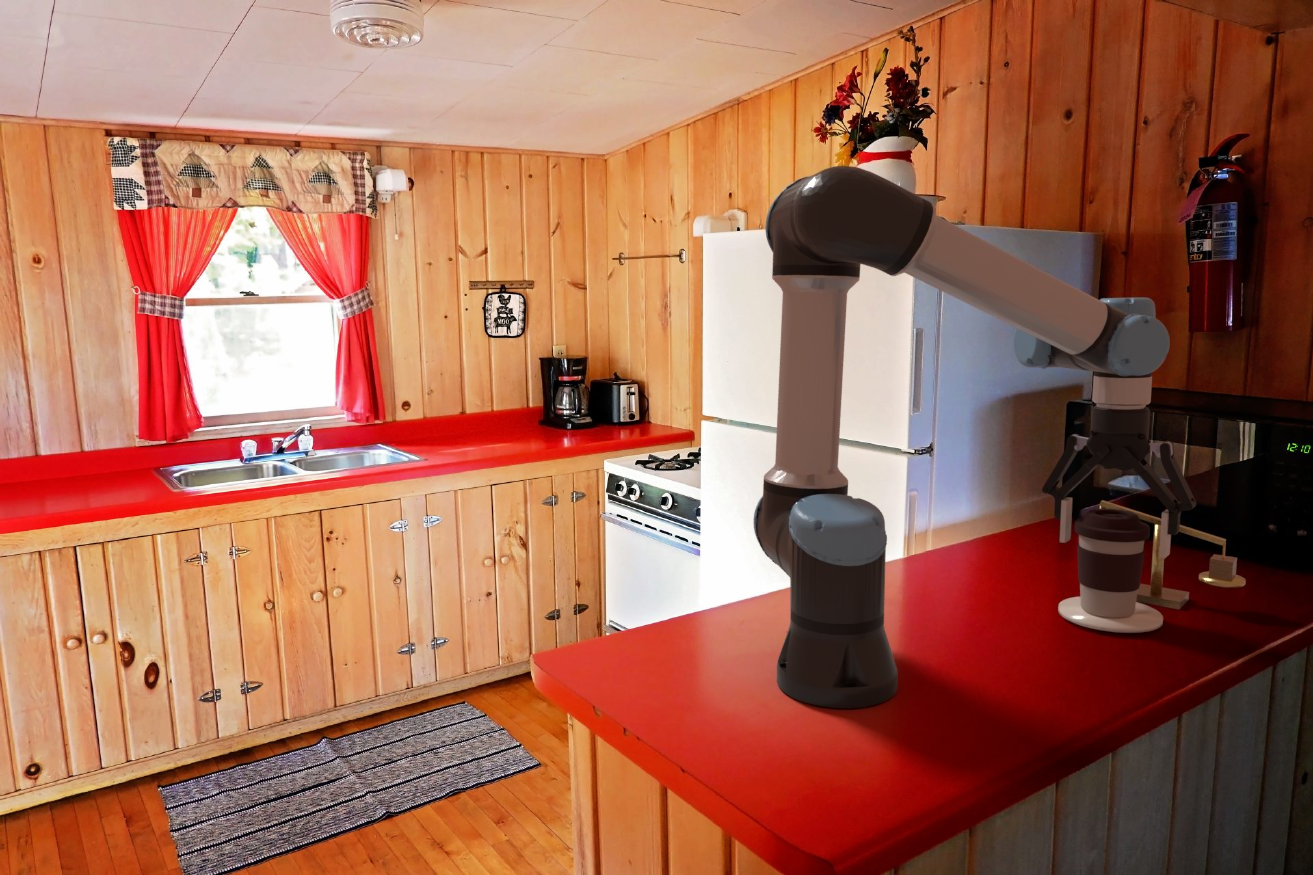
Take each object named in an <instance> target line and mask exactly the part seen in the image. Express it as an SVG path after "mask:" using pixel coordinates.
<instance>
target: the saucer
mask: <svg viewBox="0 0 1313 875" xmlns="http://www.w3.org/2000/svg"><path fill="white" fill-rule="evenodd" d="M1057 608H1058V609H1057V610H1058V613H1059V615H1060V616H1061V617H1062V618H1064V619H1065V620H1067V621H1069V622H1071V623H1073V624H1075V625H1079V626H1082V627H1085V628H1089V629H1093V630H1098V631H1105V632H1111V633H1121V634H1122V633H1123V634H1124V633H1125V634H1126V633H1127V634H1137V633H1145V632H1146V633H1148V632H1152V631H1155V630H1158V629H1161V627H1162V626H1163V623H1164V622H1163V621H1164V616H1163V615H1162V613H1161V612H1160V611H1158V610H1157V609H1155V608H1153V607H1151V606H1149V605H1146V604H1145V603H1141V602H1136V605H1135V612H1134V614H1133V615H1131V616H1129V617H1125V618H1107V617H1101V616H1096V615H1093V614H1090V613H1088V612H1086V611H1084V610H1083V609H1082V607H1081V602H1080V596H1074V597H1069V598H1066V599H1063V600H1062V601H1061V600H1060V602H1059V603H1058V607H1057Z"/></svg>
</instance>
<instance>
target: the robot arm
mask: <svg viewBox="0 0 1313 875" xmlns="http://www.w3.org/2000/svg"><path fill="white" fill-rule="evenodd" d="M765 236H766V241H767V244H768V245H769V248H770V250H771V252H772V270H771V272H772V273H771V278H772V280H773V281H774V282H775V283H776V284H777V286H778V287H779V288H780V289H781V292H782V300H781V301H782V302H781V325H780V344H779V345H780V347H779V349H780V350H779V351H780V352H779V369H778V370H779V371H778V372H779V373H778V375H779V376H778V393H777V394H778V396H777V415H776V416H777V417H776V418H777V419H776V437H775V438H776V443H775V459H774V460H775V461H774V462H775V463H774V465H773V466H772V467H771V468H770V469H769V470H768V471H767V472H766V473H765V474H764V475H763V485H762V486H763V487H762V488H763V489H762V496H761V497H760V499H759V500H758V502H757V504H756V507H755V509H754V512H753V530H754V534H755V537H756V538H755V539H756V540H757V542H758V544H759V546H760V548H761V550H762V551H763V553H764V555H766V557H768V558H769V559H770V560H771V562H773V563H774V564H775V565H777V566H778V567H779V568H780V569H781V570H782V571H783V572H784V573H785V574H786V575H787V576H788V577H789V580H790V581H789V582H790V583H789V584H790V585H789V586H790V587H789V588H790V589H789V590H790V595H789V596H790V598H789V599H790V606H789V607H790V624H789V627H788V630H787V633H786V636H785V639H784V641H783V644H782V648H781V651H780V653H779V656H778V659H777V662H776V663H777V664H776V683H777V686H778V687H779V689H780V690H781V692H783V693H785V694H786V695H787V696H789V697H790V698H793V699H795V700H797V701H800V702H802V703H806V704H810V705H813V706H819V707H825V708H831V709H859V708H866V707H871V706H875V705H879V704H881V703H884V702H887V701H888V700H889V699H891V698H893V697H894V696H895V694H896V693H897V691H898V683H899V682H898V679H899V678H898V676H899V674H898V672H899V671H898V667H897V664H896V661H895V658H894V654H893V651H892V648H891V646H890V642H889V638H888V635H887V632H886V630H885V600H886V599H885V597H886V596H885V595H886V594H885V593H886V592H885V590H886V555H887V554H886V551H887V550H886V549H887V544H888V542H887V541H888V535H887V533H886V532H887V530H886V521H885V518H884V515H883V512H882V511H881V510H880V508H878V507H877V506H876V505H875V504H873V503H871V502H870V501H868V500H865V499H862V498H860V497H857V498H855V497H853V496H852V495H849V494H848V492H849V479H848V478H847V477H846V476H845V475H844V473H842V472H841V470H840V468H839V453H840V452H839V449H840V430H841V417H842V412H841V411H842V394H843V375H844V361H845V360H844V357H845V342H846V341H845V339H846V322H847V320H846V318H847V302H848V301H847V300H848V292H849V291H850V290H851V288H853V287H854V286H855V285H856V284H857V283H858V282H859V281H860V277H861V276H860V275H861V265H864V266H867V267H871V268H874V269H876V270H879V271H881V272H882V273H885V274H887V275H889V276H891V277H896V276H900V275H901V274H906V275H909V276H911V277H913V278H914V279H916V280H918V281H921V282H923V283H924V284H927V285H929V286H930V287H933V288H935V289H937V290H939V291H941V292H943V293H945V294H947V295H949V296H951V297H953V298H955V299H957V300H960V301H961V302H963V303H966V304H967V305H969V306H971V307H974V308H976V309H977V310H979V311H982V312H983V313H986V314H988V315H989V316H992V317H993V318H995V319H997V320H1000V321H1002V322H1004V323H1006V324H1008V325H1010V326H1012V327H1014V328H1015V329H1014V333H1013V350H1014V351H1013V352H1014V354H1015V357H1016V359H1017V361H1018V362H1019V363H1020V364H1021V365H1022V366H1024V367H1026V368H1041V369H1043V370H1045V369H1046V368H1062V369H1063V368H1064V369H1070V370H1071V369H1072V370H1079V371H1080V370H1081V371H1089V372H1090V371H1091V372H1093V380H1092V382H1093V383H1092V384H1093V385H1092V398H1091V401H1092V402H1094V404H1096V405H1094V406H1093V407H1092V408H1091V418H1090V419H1091V421H1090V422H1091V423H1090V435H1089V437H1085V436H1081V435H1080V434H1078V433H1074V434H1072V435H1070V436H1067V438H1066V443H1065V450H1064V452H1063V453H1062V454H1061V456H1060V458H1059V460H1058V462H1057V463H1055V464H1056V465H1055V467H1054V468H1053V470H1052V471H1051V473H1050V475H1049V477H1048V478H1047V479H1046V481H1045V483H1044V484H1043V486H1042V488H1041V491H1042V493H1044V494H1048V495H1050V496H1052V497H1053V498H1054V499H1053V500H1054V513H1053V514H1054V515H1053V517H1054V519H1055V520H1060V523H1059V524H1060V526H1059V528H1060V529H1059V543H1064V544H1065V543H1067V542H1068V541H1070V540H1072V539H1071V538H1072V537H1071V536H1072V520H1073V519H1072V518H1073V517H1072V513H1073V497H1067V496H1068V495H1069V494H1070V493H1071V492H1072V491H1073V490H1074V489H1075V488H1076V487H1077V486H1078V485H1079V484H1080V483H1082V482H1083V481H1084V480H1085V479H1086V478H1087V477H1088V476H1089V475H1090V474H1091V473H1092V472H1093V471H1094V470H1096V468H1098V467H1100V466H1101V467H1102V468H1103V469H1105V470H1114V469H1117V470H1118V471H1119V470H1120V471H1126V472H1127V471H1130V470H1133V471H1134V472H1135V473H1136V474H1137V475H1138V476H1139V477H1140V478H1141V479H1142V480H1143V481H1144V483H1145V484H1146V485H1147V486H1148V488H1149V489H1150V490H1151V491H1152V492H1153V494H1154V495H1155V496H1156V497H1157V499H1158V500H1159V501H1160V502H1161V504H1162V505H1163V506H1164V507H1165V508H1166V509H1165V510H1163V511H1162V512H1161V518H1160V519H1161V534H1160V550H1159V558H1164V559H1166V558H1167V557H1168V556H1169V555H1170V554H1171V539H1172V536H1176V535H1177V534H1178V533H1179V529H1180V525H1181V513H1182V512H1186V511H1187V512H1188V511H1192V510H1193V509H1194V508H1195V507H1196V506H1197V501H1196V499H1195V497H1194V495H1193V493H1192V490H1191V489H1190V485H1189V484H1188V483H1187V480H1186V478H1185V476H1184V473H1183V472H1182V470H1181V468H1180V466H1179V464H1178V462H1177V459H1176V457H1175V446H1174V443H1173V441H1171V440H1166V441H1165V442H1151V440H1150V437H1149V435H1150V421H1151V420H1150V419H1151V410H1150V409H1149V407H1147V405H1149V404H1150V403H1151V401H1152V399H1151V398H1152V384H1153V372H1156V370H1158V369H1159V368H1160V367H1161V365H1163V363H1164V362H1165V360H1166V359H1167V355H1168V354H1169V351H1170V347H1171V346H1170V345H1171V344H1170V343H1171V342H1170V335H1169V334H1170V333H1169V332H1168V329H1167V328H1166V326H1165V324H1163V323H1162V321H1161V320H1159V319H1158V318H1156V315H1157V314H1156V304H1155V302H1154V300H1152V299H1151V298H1150V297H1112V298H1111V297H1107V298H1105V297H1103V298H1100V299H1098V298H1096V297H1094V296H1093V295H1090V294H1088V293H1087V292H1085V291H1083V290H1081V289H1079V288H1077V287H1075V286H1073V285H1071V284H1069V283H1068V282H1066V281H1063V280H1061V279H1059V278H1058V277H1056V276H1055V275H1054V276H1053V275H1052V274H1050V273H1048V272H1046V271H1044V270H1042V269H1040V268H1038V267H1036V266H1034V265H1033V264H1031V263H1029V262H1026V261H1025V260H1023V259H1021V258H1019V257H1017V256H1015V255H1014V254H1011V253H1010V252H1008V251H1006V250H1003V249H1002V248H1000V247H997V245H994V244H992V243H990V242H988V241H986V240H984V239H982V238H981V237H978V236H976V235H975V234H973V233H971V232H969V231H967V230H965V229H963V228H961V227H959V226H958V225H956V224H953V223H951V222H950V221H948V220H946V219H944V218H942V217H940V216H939V215H937V212H936V206H935V204H934V203H933V202H931V201H929V200H928V199H925V198H923V197H921V196H919V195H917V194H916V193H914V192H911V191H910V190H908V189H906V188H905V187H902V186H900V185H898V184H896V182H895V183H894V182H893V181H891V180H889V179H887V178H885V177H883V176H881V175H878V174H877V173H874V172H872V171H870V170H866V169H864V168H861V167H857V166H849V165H838V166H835V165H834V166H831V167H828V168H825V169H823V170H820V171H818V172H816V173H814V174H812V175H810V176H809V175H808V176H804V177H802V178H799V179H796V180H795V181H793V182H792V183H789V185H787V186H785V188H784V189H782V190H781V192H780V193H779V194H777V196H776V197H775V198H774V200H773V201H772V203H771V205H770V206H769V209H768V212H767V213H766V219H765ZM1085 446H1086V447H1087V448H1088V450H1089V452H1090V454H1092V456H1091V457H1090V458H1089V459H1088V460H1087V461H1086V462H1085V463H1084V464H1083V465H1082V466H1081V468H1079V469H1078V470H1077V471H1076V472H1075V473H1074V474H1073V475H1072V476H1071V477H1070V478H1069V479H1068V480H1067V481H1066V482H1065V483H1063V485H1061V487H1059V486H1058V485H1059V483H1060V482H1061V480H1062V478H1063V477H1064V475H1065V474H1066V472H1067V470H1068V469H1069V467H1070V465H1071V464H1072V462H1073V460H1074V459H1075V457H1076V456H1077V454H1078V452H1079V451H1082V450H1083V448H1084V447H1085ZM1150 452H1153V453H1154V455H1155V456H1156V457H1157V458H1158V459H1160V461H1161V464H1162V467H1163V469H1164V471H1165V473H1166V475H1167V477H1168V479H1169V481H1170V483H1171V485H1172V488H1173V490H1174V491H1175V494H1176V496H1177V498H1176V496H1175V495H1174V494H1173V492H1171V490H1170V489H1169V487H1168V486H1167V485H1166V484H1165V483H1164V482H1163V480H1162V479H1161V477H1159V475H1158V474H1157V473H1156V471H1154V469H1153V468H1152V465H1151V464H1150V462H1149V461H1148V460H1147V459H1146V457H1147V456H1148V455H1149V453H1150Z"/></svg>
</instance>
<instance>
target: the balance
mask: <svg viewBox="0 0 1313 875" xmlns="http://www.w3.org/2000/svg"><path fill="white" fill-rule="evenodd" d="M1104 508H1105V509H1119V510H1125V511H1130V512H1133V513H1135V514H1137V515H1138V516H1139V519H1140V520H1142V521H1145V522H1148V523H1151V524H1154V527H1153V528H1154V529H1153V540H1152V544H1153V545H1152V556H1151V557H1152V559H1151V575H1150V576H1151V577H1150V584H1144V583H1140V587H1139V589H1138V591H1137V598H1136V602H1138V603H1141V604H1148V605H1152V606H1158V607H1164V608H1168V609H1169V608H1170V609H1174V610H1175V609H1176V610H1179V611H1180V609H1181V608H1182V607H1183V606H1184V605H1185V604H1187V602H1188V601H1189V598H1190V592H1189V591H1184V590H1180V589H1179V590H1178V589H1173V588H1168V587H1163V584H1164V583H1163V581H1164V580H1163V579H1164V566H1165V565H1164V563H1165V558H1159V550H1160V534H1161V518H1160V517H1157V516H1153V515H1150V514H1148V513H1147V514H1146V513H1144V512H1141V511H1138V510H1135V509H1131V508H1129V507H1126V506H1122V505H1119V504H1115V503H1113V502H1110V501H1106V500H1104V499H1103V500H1101V501H1100V503H1099V509H1104ZM1179 532H1180V533H1183V534H1185V535H1189V536H1192V537H1193V538H1199V539H1201V540H1204V541H1208V542H1211V543H1214V544H1216V545H1219V546H1222V554H1215V553H1214V554H1213V555H1212V556H1211V557H1210V558H1209V567H1208V568H1209V569H1208V571H1203V572H1200V573H1199V574H1198V580H1199V581H1200V582H1202V583H1205V584H1207V585H1210V586H1215V587H1221V588H1242V587H1245V585H1246V581H1247V580H1246V578H1244V577H1243V576H1241V575H1238V574H1237V562H1238V557H1236V556H1235V557H1234V556H1228V555H1226V545H1227V542H1226V541H1227V539H1226V538H1223V537H1220V536H1216V535H1214V534H1210V533H1207V532H1204V531H1201V530H1198V529H1194V528H1192V527H1187V526H1185V525H1182V524H1180V529H1179ZM1179 532H1178V533H1179Z"/></svg>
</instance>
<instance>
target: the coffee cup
mask: <svg viewBox="0 0 1313 875" xmlns="http://www.w3.org/2000/svg"><path fill="white" fill-rule="evenodd" d="M1074 532H1075V533H1076V534H1077V535H1078V544H1077V575H1078V582H1079V589H1080V590H1079V591H1080V592H1079V593H1080V594H1079V595H1080V596H1079V597H1080V602H1081V607H1082V609H1083V610H1084V611H1086V612H1088V613H1090V614H1093V615H1096V616H1101V617H1107V618H1125V617H1129V616H1131V615H1133V614H1134V612H1135V605H1136V598H1137V591H1138V589H1139V587H1140V584H1141V581H1142V580H1141V579H1142V575H1143V574H1142V573H1143V566H1144V559H1145V551H1146V550H1145V548H1144V546H1145V541H1146V540H1148V539H1149V538H1150V537H1151V536H1150V535H1151V527H1150V526H1149V525H1148V524H1147V523H1146V522H1144V521H1143V522H1142V521H1141V519H1139V516H1138V515H1137V514H1135V513H1133V512H1130V511H1125V510H1119V509H1108V508H1104V507H1103V508H1102V509H1100V508H1093V509H1089V510H1087V512H1086V513H1085V515H1084V517H1079V518H1078V519H1076V520H1075V521H1074Z"/></svg>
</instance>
